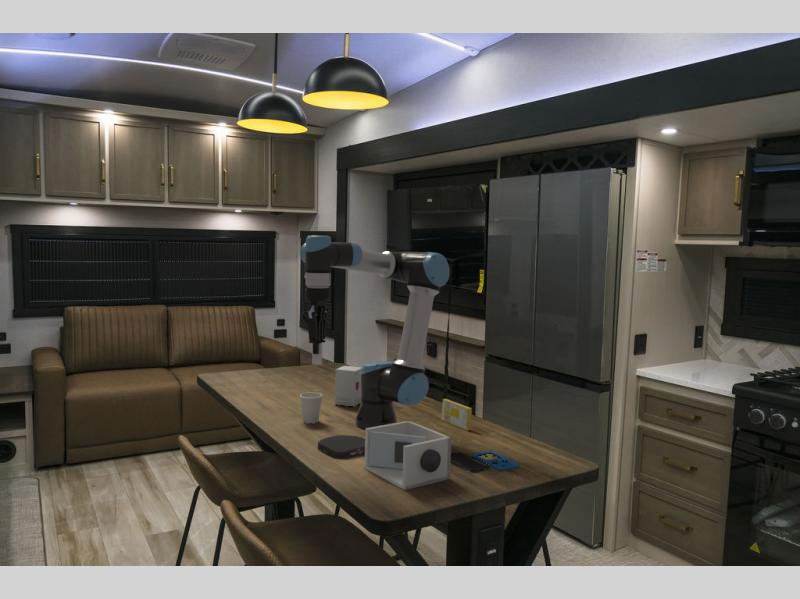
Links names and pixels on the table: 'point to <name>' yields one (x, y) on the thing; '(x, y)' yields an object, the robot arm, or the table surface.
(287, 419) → the table surface
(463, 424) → the candy box
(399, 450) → the side door
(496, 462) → the handheld gaming device
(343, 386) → the supplement box
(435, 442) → the open box
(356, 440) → the media streaming box
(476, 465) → the phone
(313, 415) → the dixie cup
